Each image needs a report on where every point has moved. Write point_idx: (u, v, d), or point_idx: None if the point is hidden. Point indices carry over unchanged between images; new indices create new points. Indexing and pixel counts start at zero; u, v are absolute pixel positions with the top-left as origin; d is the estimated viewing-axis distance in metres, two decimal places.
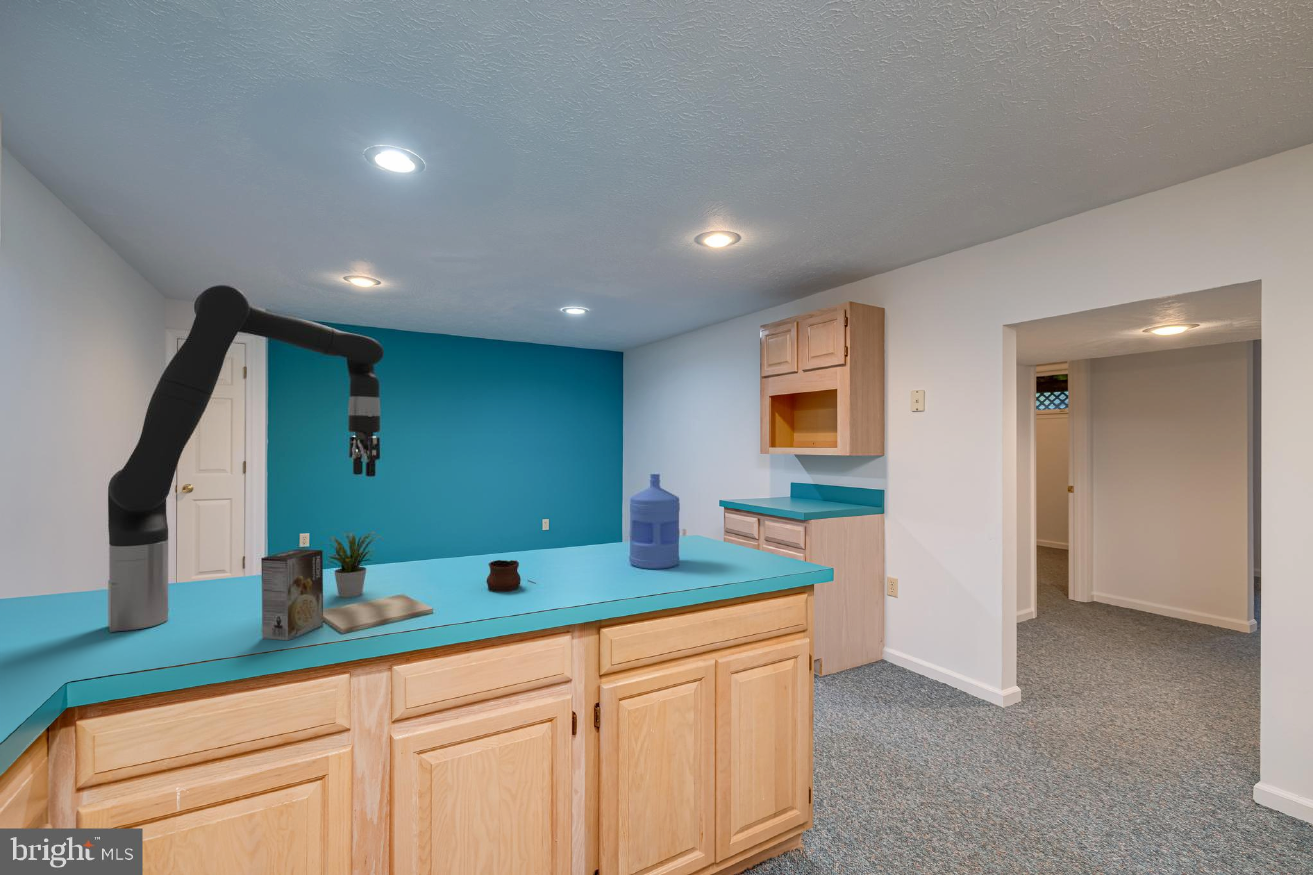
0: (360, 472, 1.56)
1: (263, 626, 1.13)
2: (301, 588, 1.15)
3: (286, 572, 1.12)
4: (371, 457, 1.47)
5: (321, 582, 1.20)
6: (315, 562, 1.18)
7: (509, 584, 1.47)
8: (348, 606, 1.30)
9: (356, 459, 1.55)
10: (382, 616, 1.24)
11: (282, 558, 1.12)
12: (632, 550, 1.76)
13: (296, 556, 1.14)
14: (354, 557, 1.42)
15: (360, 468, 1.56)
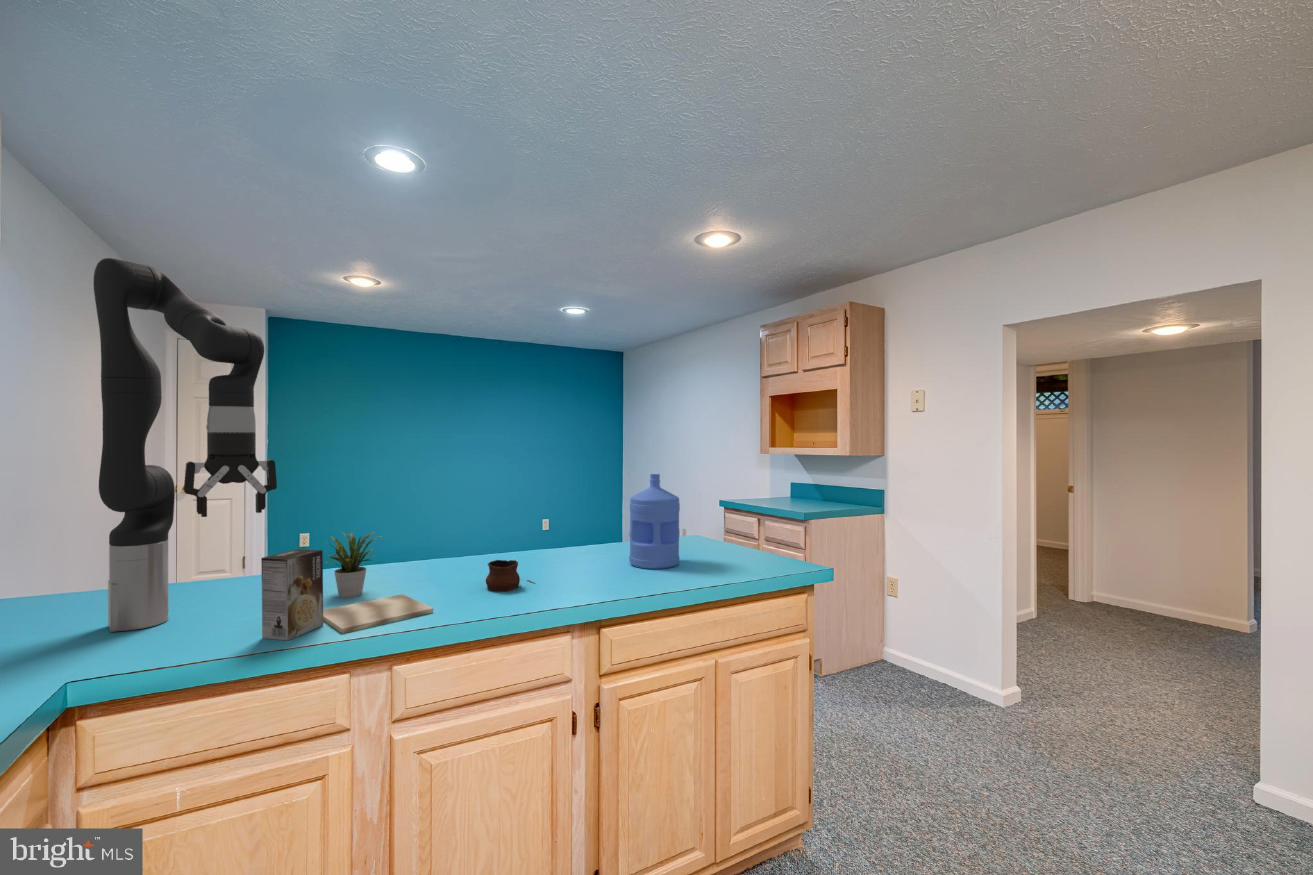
0: None
1: (263, 626, 1.13)
2: (301, 588, 1.15)
3: (286, 572, 1.12)
4: None
5: (321, 582, 1.20)
6: (315, 562, 1.18)
7: (508, 584, 1.47)
8: (348, 606, 1.30)
9: None
10: (382, 616, 1.24)
11: (282, 558, 1.12)
12: (632, 550, 1.76)
13: (296, 556, 1.14)
14: (354, 557, 1.42)
15: None
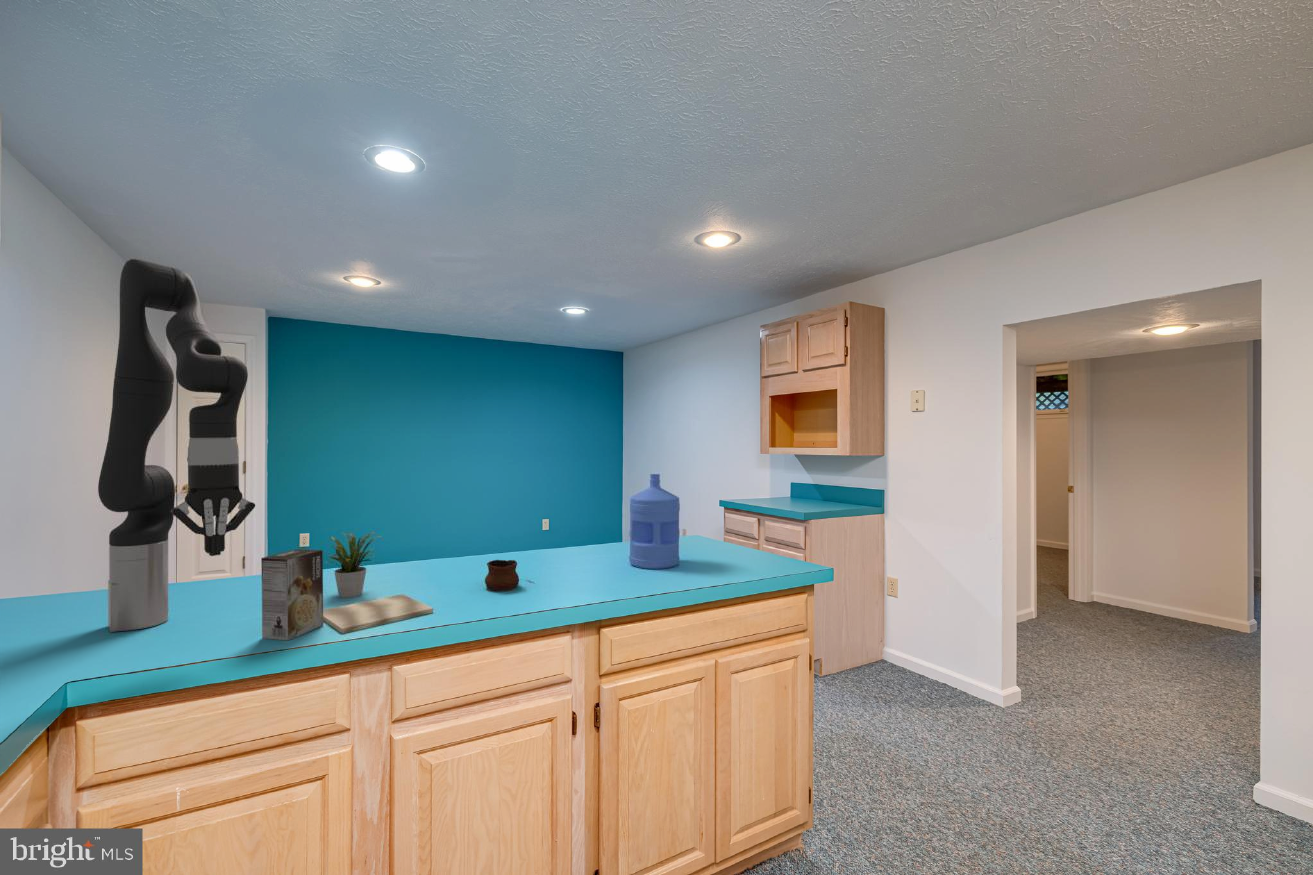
0: None
1: (263, 626, 1.13)
2: (301, 588, 1.15)
3: (286, 572, 1.12)
4: None
5: (321, 582, 1.20)
6: (315, 562, 1.18)
7: (507, 584, 1.48)
8: (348, 606, 1.30)
9: (213, 531, 1.07)
10: (382, 616, 1.24)
11: (282, 558, 1.12)
12: (632, 550, 1.76)
13: (296, 556, 1.14)
14: (354, 557, 1.42)
15: None
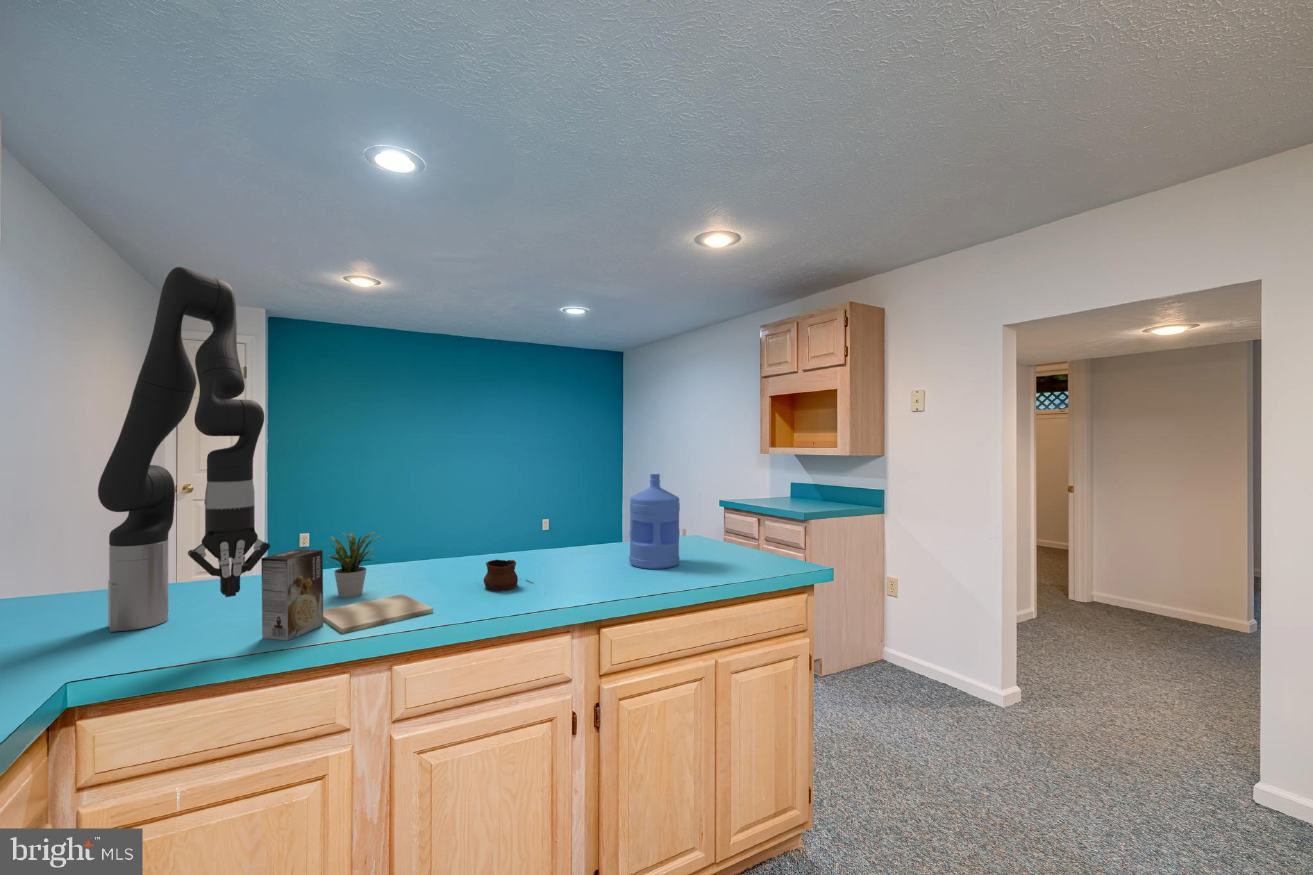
0: None
1: (263, 626, 1.13)
2: (301, 588, 1.15)
3: (286, 572, 1.12)
4: None
5: (321, 582, 1.20)
6: (315, 562, 1.18)
7: (506, 584, 1.48)
8: (348, 606, 1.30)
9: (229, 572, 1.08)
10: (382, 616, 1.24)
11: (282, 558, 1.12)
12: (632, 550, 1.76)
13: (296, 556, 1.14)
14: (354, 557, 1.42)
15: None
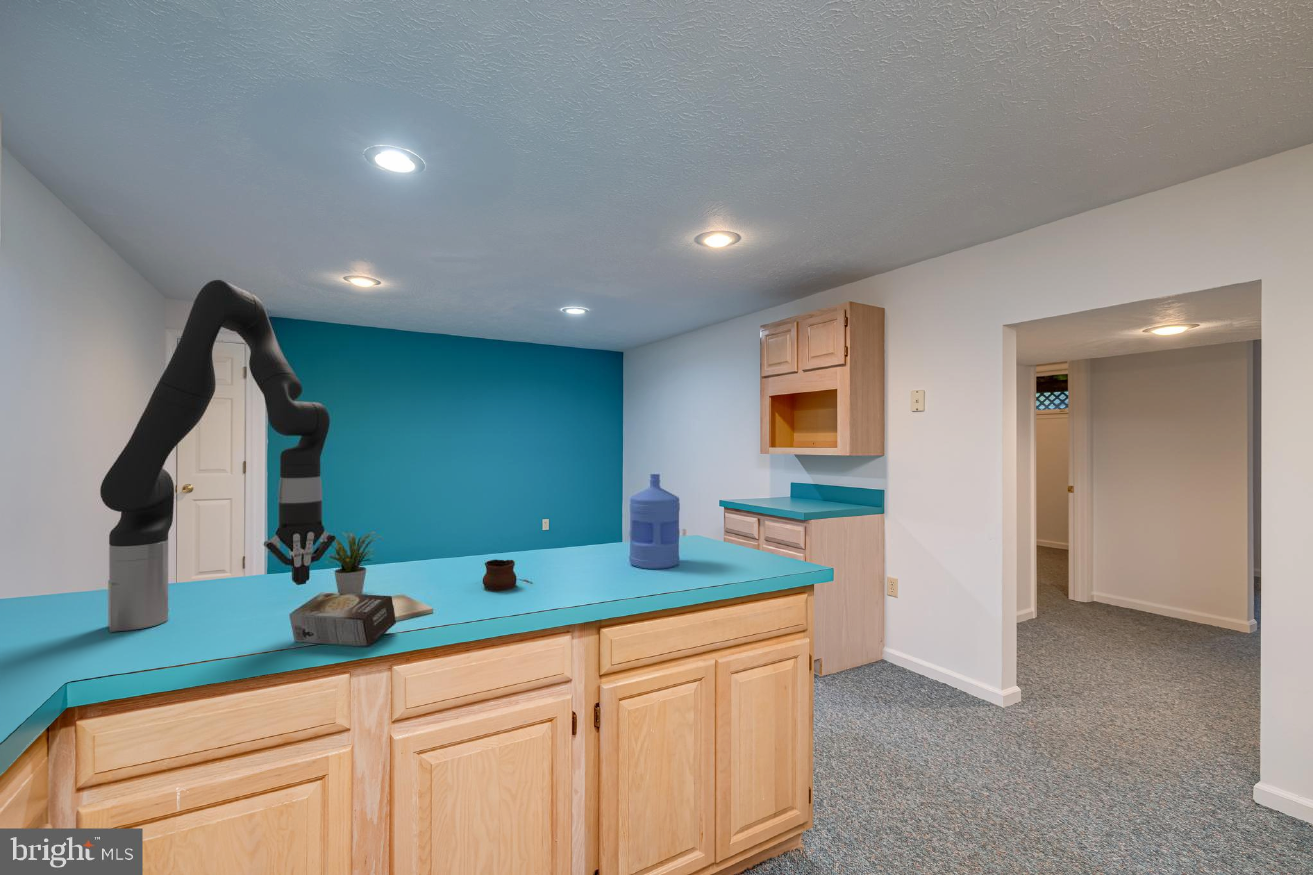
0: None
1: (300, 616, 1.10)
2: None
3: (357, 645, 1.09)
4: None
5: None
6: None
7: (505, 583, 1.48)
8: None
9: None
10: None
11: (369, 637, 1.09)
12: (632, 550, 1.76)
13: (377, 637, 1.11)
14: (354, 557, 1.42)
15: None
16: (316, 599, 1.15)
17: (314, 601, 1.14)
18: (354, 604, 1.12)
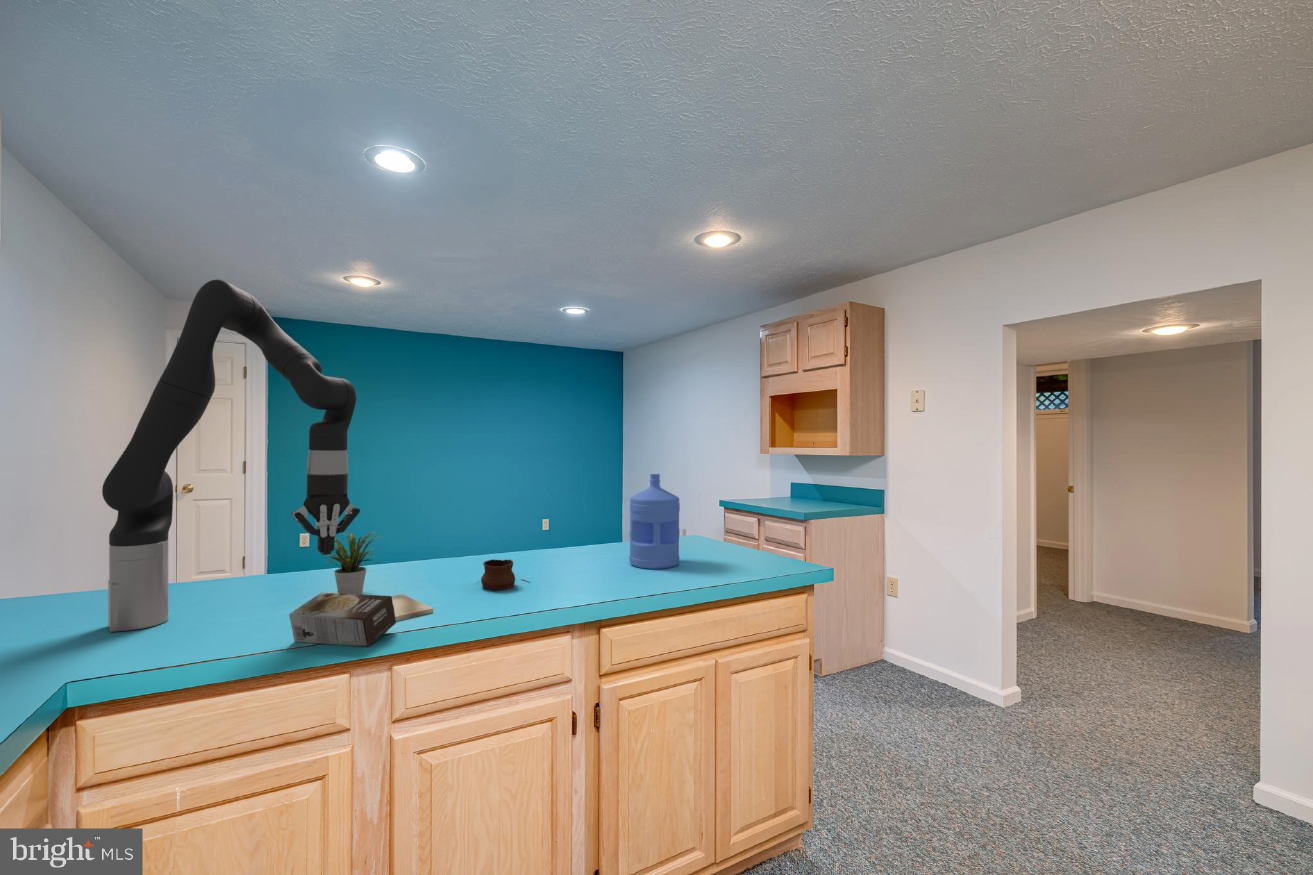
0: None
1: (300, 616, 1.10)
2: None
3: (357, 645, 1.09)
4: None
5: None
6: None
7: (504, 583, 1.48)
8: None
9: None
10: None
11: (369, 637, 1.09)
12: (632, 550, 1.76)
13: (377, 637, 1.11)
14: (354, 557, 1.42)
15: None
16: (316, 599, 1.15)
17: (314, 601, 1.14)
18: (354, 604, 1.12)
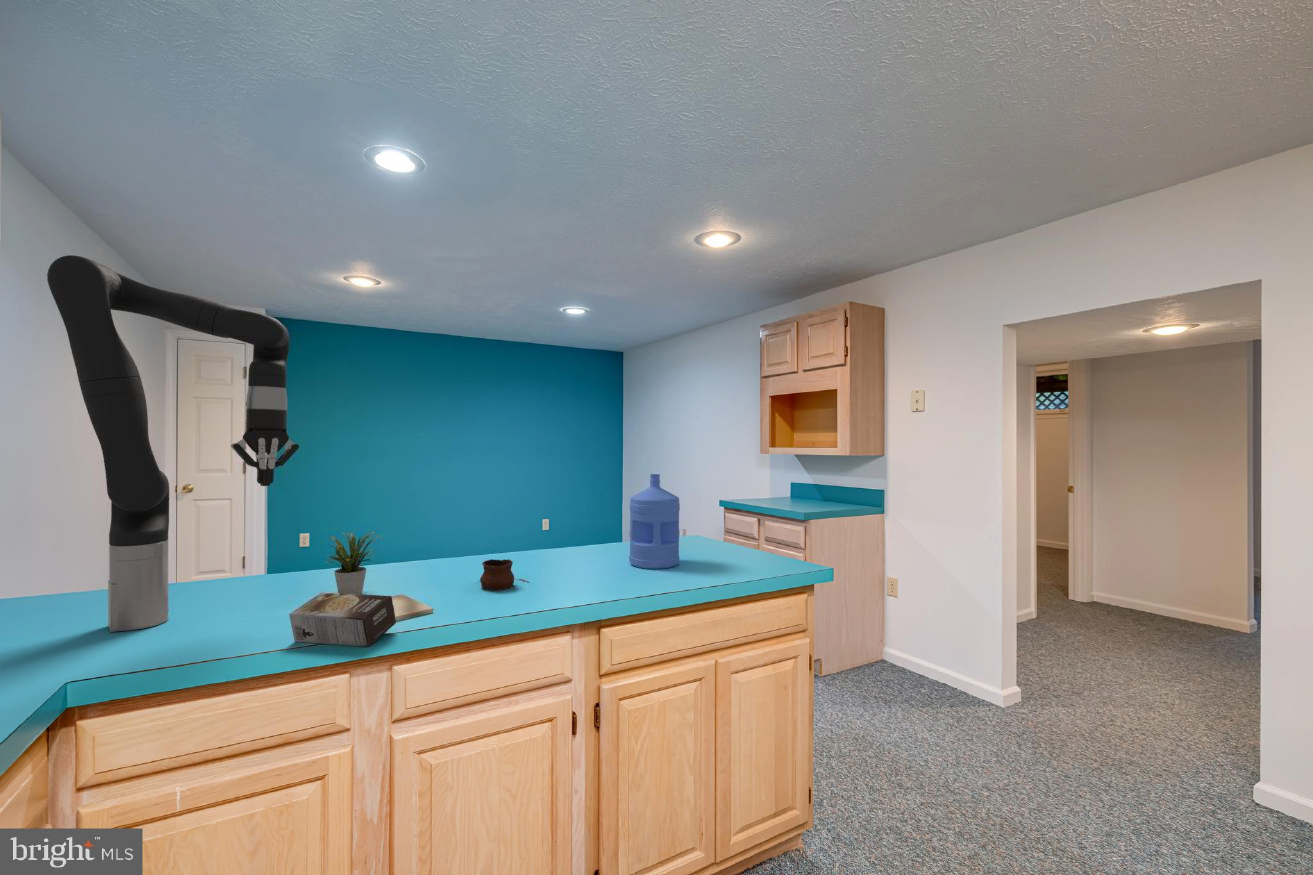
0: None
1: (300, 616, 1.10)
2: None
3: (357, 645, 1.09)
4: None
5: None
6: None
7: (504, 583, 1.48)
8: None
9: None
10: None
11: (369, 637, 1.09)
12: (632, 550, 1.76)
13: (377, 637, 1.11)
14: (354, 557, 1.42)
15: None
16: (316, 599, 1.15)
17: (314, 601, 1.14)
18: (354, 604, 1.12)
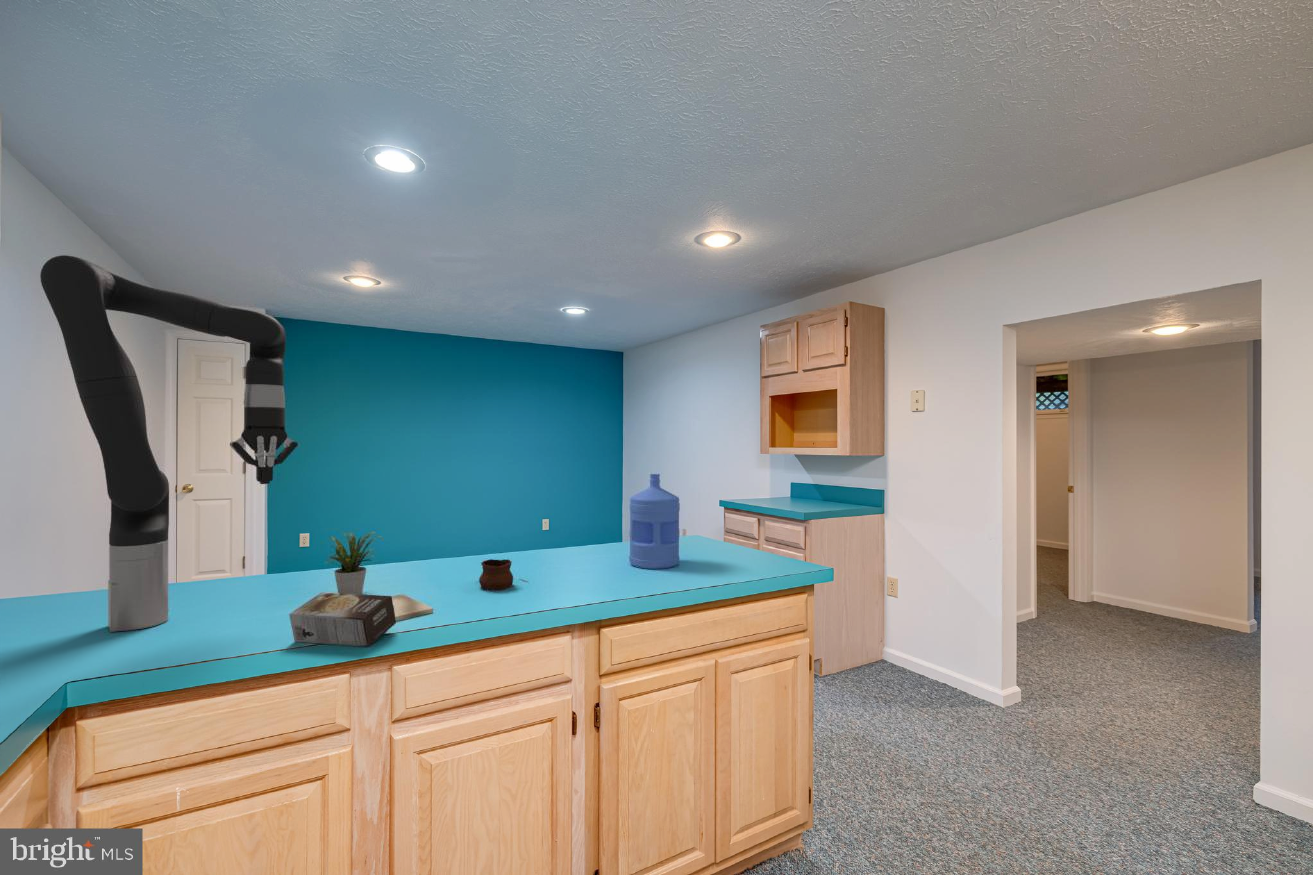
0: None
1: (300, 616, 1.10)
2: None
3: (357, 645, 1.09)
4: None
5: None
6: None
7: (502, 583, 1.48)
8: None
9: None
10: None
11: (369, 637, 1.09)
12: (632, 550, 1.76)
13: (377, 637, 1.11)
14: (354, 557, 1.42)
15: None
16: (316, 599, 1.15)
17: (314, 601, 1.14)
18: (354, 604, 1.12)
